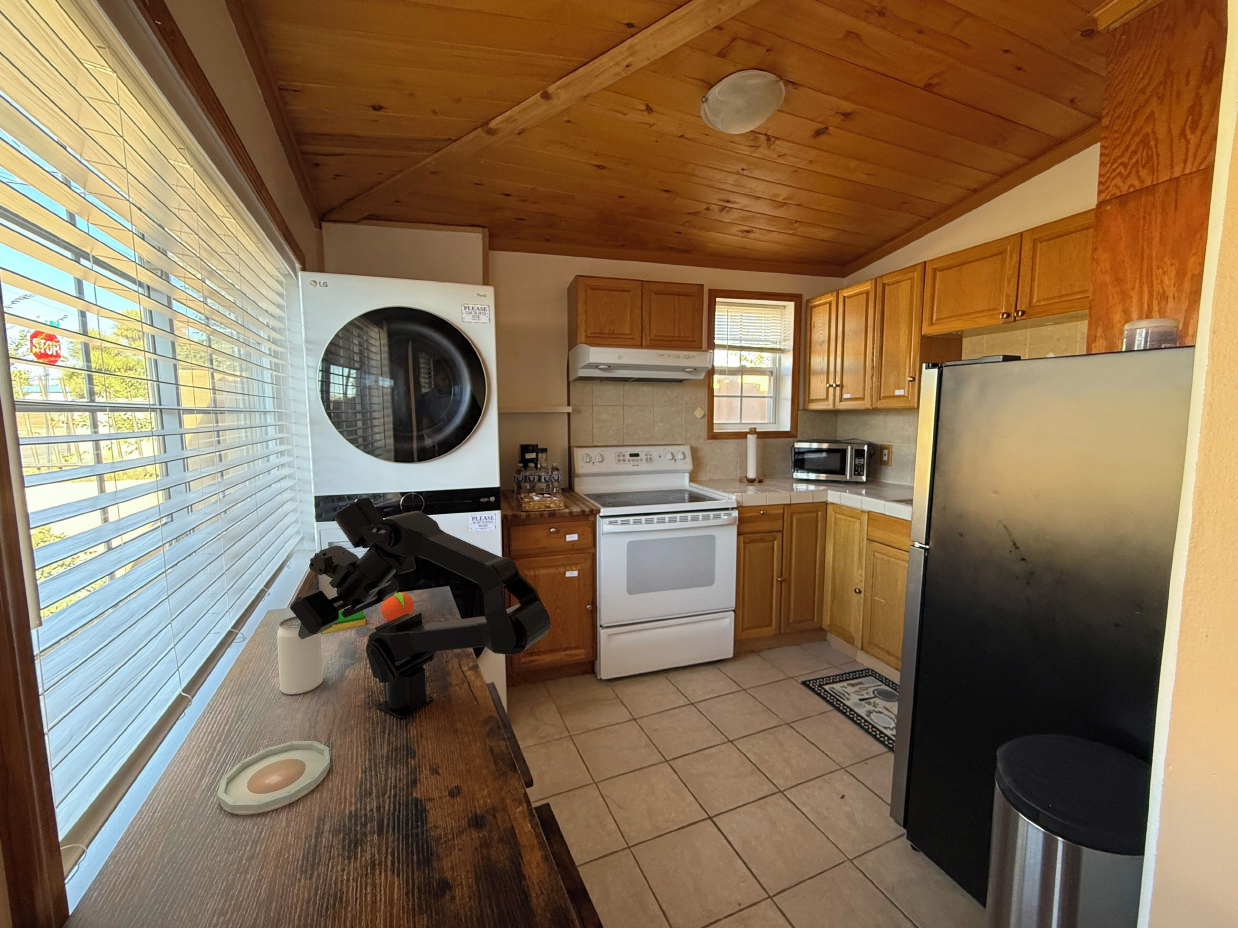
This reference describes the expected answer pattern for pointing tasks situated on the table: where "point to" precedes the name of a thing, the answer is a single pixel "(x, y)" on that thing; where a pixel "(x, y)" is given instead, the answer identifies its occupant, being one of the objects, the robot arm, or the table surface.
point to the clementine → (397, 606)
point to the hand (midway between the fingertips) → (323, 625)
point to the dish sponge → (347, 622)
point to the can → (298, 659)
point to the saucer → (274, 777)
